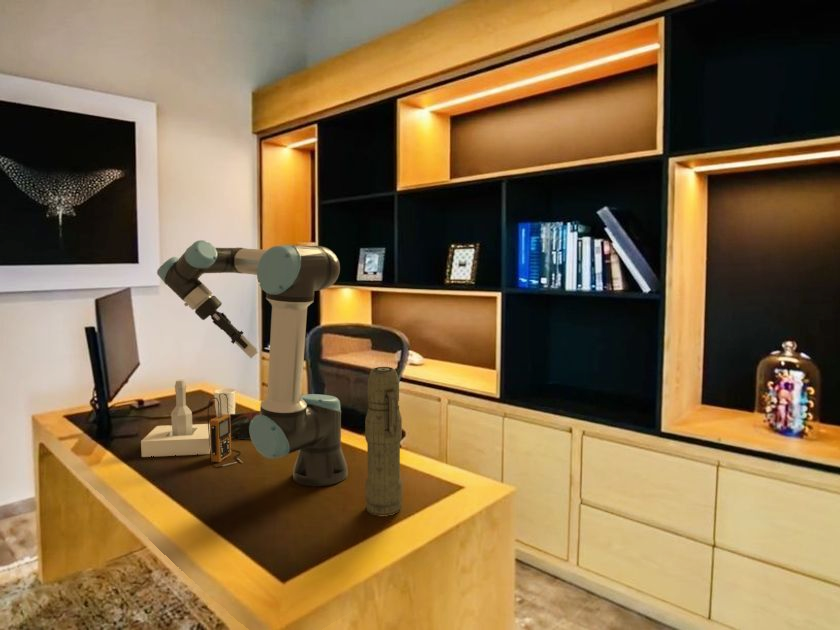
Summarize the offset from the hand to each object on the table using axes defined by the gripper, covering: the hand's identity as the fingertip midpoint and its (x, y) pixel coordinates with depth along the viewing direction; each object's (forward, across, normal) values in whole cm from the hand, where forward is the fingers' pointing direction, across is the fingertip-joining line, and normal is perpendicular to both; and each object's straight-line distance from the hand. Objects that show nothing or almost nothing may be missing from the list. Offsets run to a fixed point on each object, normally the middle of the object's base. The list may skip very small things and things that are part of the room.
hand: (254, 353), depth 174 cm
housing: (+7, -18, -37) cm, 42 cm away
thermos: (+47, +44, -3) cm, 64 cm away
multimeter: (+19, -2, -27) cm, 33 cm away
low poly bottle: (+8, -18, -37) cm, 42 cm away
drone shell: (+23, -26, -19) cm, 40 cm away
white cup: (+13, -52, -26) cm, 59 cm away
